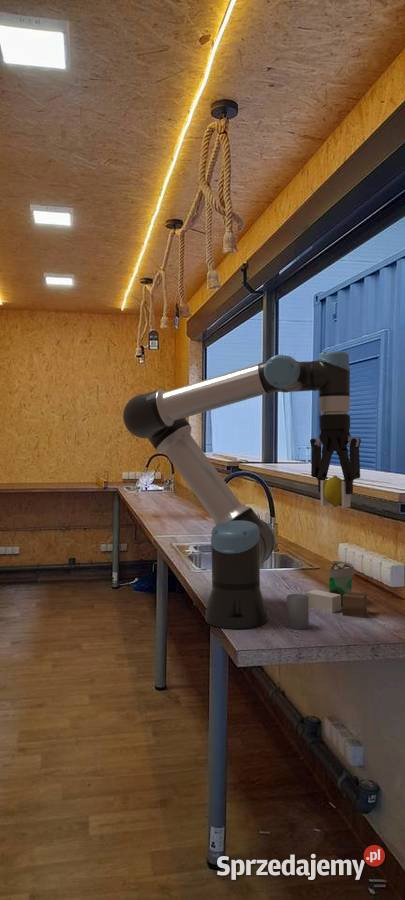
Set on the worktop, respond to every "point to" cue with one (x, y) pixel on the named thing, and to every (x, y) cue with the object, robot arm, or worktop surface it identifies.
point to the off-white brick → (324, 601)
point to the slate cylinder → (297, 612)
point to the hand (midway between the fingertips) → (335, 506)
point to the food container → (341, 578)
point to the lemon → (333, 491)
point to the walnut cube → (354, 604)
